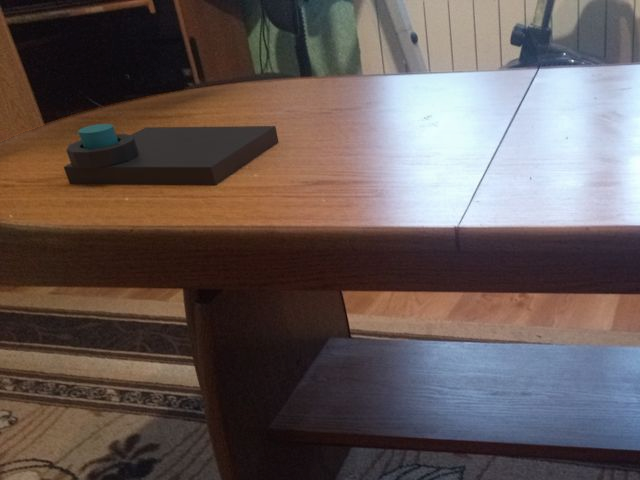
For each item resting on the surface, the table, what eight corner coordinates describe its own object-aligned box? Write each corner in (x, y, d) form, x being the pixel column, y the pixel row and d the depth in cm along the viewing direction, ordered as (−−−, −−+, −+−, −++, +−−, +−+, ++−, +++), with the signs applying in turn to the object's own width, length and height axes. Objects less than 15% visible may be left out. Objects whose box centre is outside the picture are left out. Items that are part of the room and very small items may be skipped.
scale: (65, 187, 72) (52, 152, 70) (150, 144, 84) (141, 112, 82) (213, 188, 68) (203, 151, 67) (279, 143, 80) (272, 110, 79)
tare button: (76, 150, 71) (70, 132, 70) (97, 141, 74) (91, 123, 73) (105, 150, 70) (99, 132, 69) (125, 141, 73) (120, 123, 72)
